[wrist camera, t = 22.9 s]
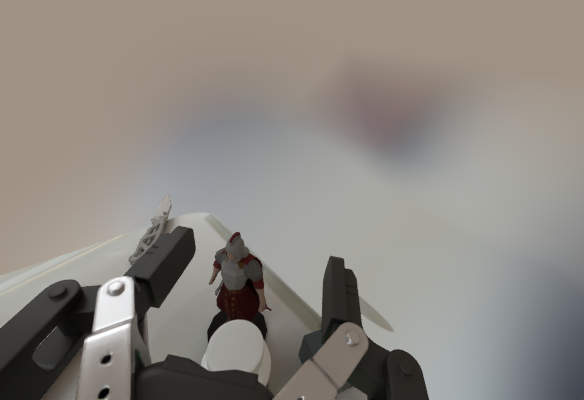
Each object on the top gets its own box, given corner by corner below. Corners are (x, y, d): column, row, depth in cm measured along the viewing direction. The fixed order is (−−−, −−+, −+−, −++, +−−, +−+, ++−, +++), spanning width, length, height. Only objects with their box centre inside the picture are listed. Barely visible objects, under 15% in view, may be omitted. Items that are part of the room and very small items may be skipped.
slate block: (317, 403, 22) (325, 387, 20) (298, 354, 25) (303, 335, 23) (355, 384, 23) (367, 367, 21) (333, 340, 27) (341, 321, 25)
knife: (162, 198, 46) (178, 197, 46) (129, 268, 32) (153, 265, 32) (159, 191, 45) (176, 190, 45) (125, 260, 31) (149, 257, 31)
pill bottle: (277, 405, 21) (289, 356, 16) (222, 455, 18) (214, 417, 13) (249, 352, 25) (251, 298, 19) (198, 387, 22) (184, 335, 16)
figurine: (193, 344, 25) (169, 242, 17) (234, 292, 30) (232, 197, 22) (245, 378, 23) (247, 281, 15) (279, 315, 29) (294, 221, 20)
